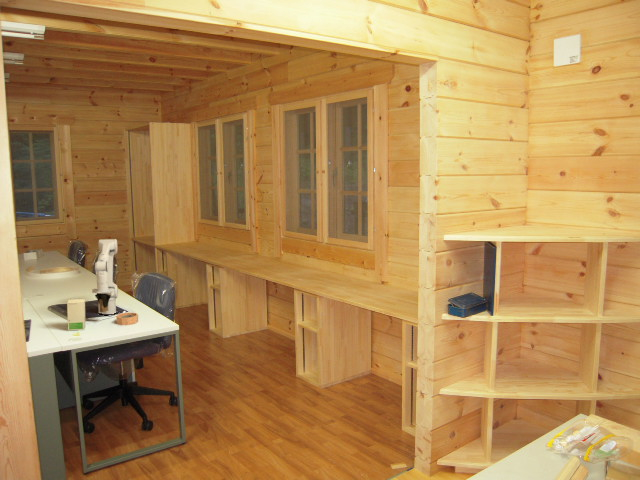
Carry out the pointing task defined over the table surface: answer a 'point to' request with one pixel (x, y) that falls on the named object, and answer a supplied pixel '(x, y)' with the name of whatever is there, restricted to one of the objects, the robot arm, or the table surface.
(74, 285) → the table surface
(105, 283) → the robot arm
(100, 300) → the wooden rectangular peg
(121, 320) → the faceted orange bowl
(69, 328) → the skincare box
